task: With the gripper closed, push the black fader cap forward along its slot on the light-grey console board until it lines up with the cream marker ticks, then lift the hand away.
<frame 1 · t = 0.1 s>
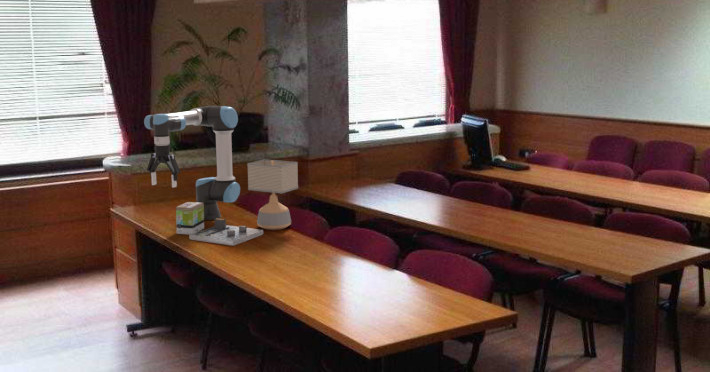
hand: (164, 186, 403), 28 cm above the table, fingers open, 13 cm apart
console: (226, 236, 412), on the table
desk lamp: (274, 227, 433), on the table
fader cap: (220, 223, 420), point 5 cm above the table, slide at 0.0 cm
tea box: (190, 231, 425), on the table
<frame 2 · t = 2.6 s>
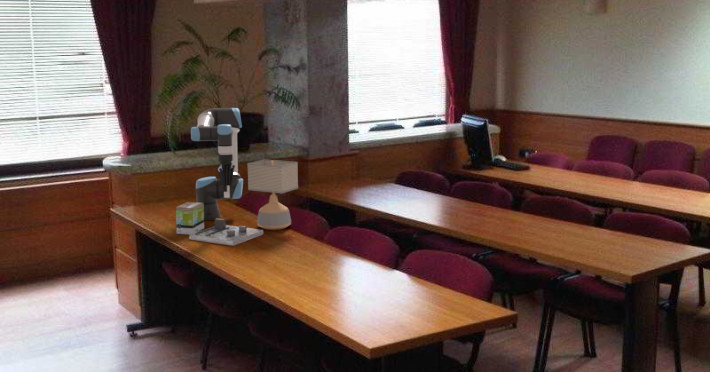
hand: (226, 197, 423), 18 cm above the table, fingers closed
nothing on the table moved.
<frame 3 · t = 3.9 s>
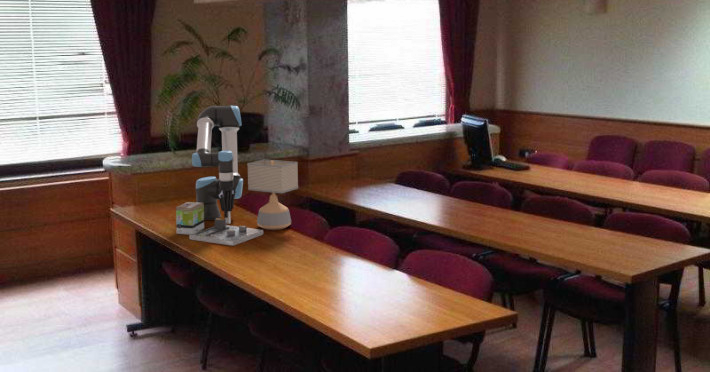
hand: (227, 223, 425), 4 cm above the table, fingers closed
nothing on the table moved.
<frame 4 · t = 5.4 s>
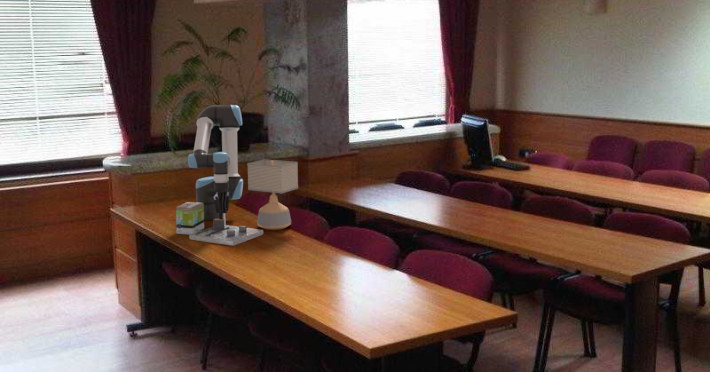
hand: (222, 225, 421), 4 cm above the table, fingers closed
fader cap: (218, 224, 418), point 5 cm above the table, slide at 1.2 cm, touching gripper
everything else where it was.
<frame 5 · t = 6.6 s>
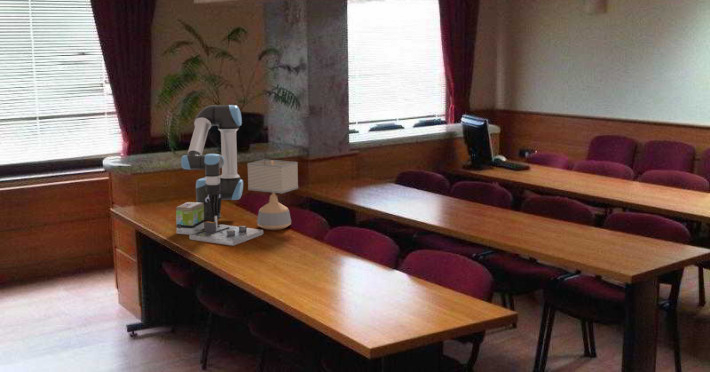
hand: (214, 227, 415), 4 cm above the table, fingers closed
fader cap: (210, 226, 412), point 5 cm above the table, slide at 8.2 cm, touching gripper
everything else where it was.
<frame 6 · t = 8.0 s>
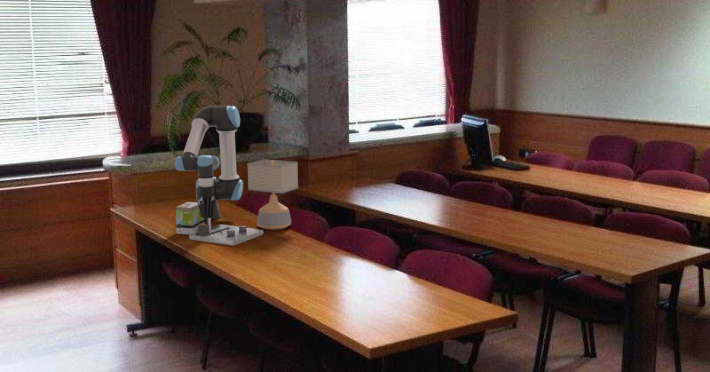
hand: (207, 230, 411), 4 cm above the table, fingers closed
fader cap: (203, 229, 408), point 5 cm above the table, slide at 13.7 cm, touching gripper
everything else where it was.
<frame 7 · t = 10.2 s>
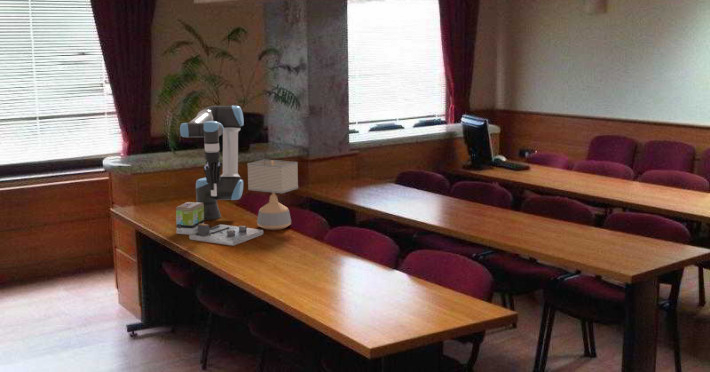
hand: (213, 195, 413), 21 cm above the table, fingers closed
fader cap: (203, 229, 408), point 5 cm above the table, slide at 13.8 cm
everything else where it was.
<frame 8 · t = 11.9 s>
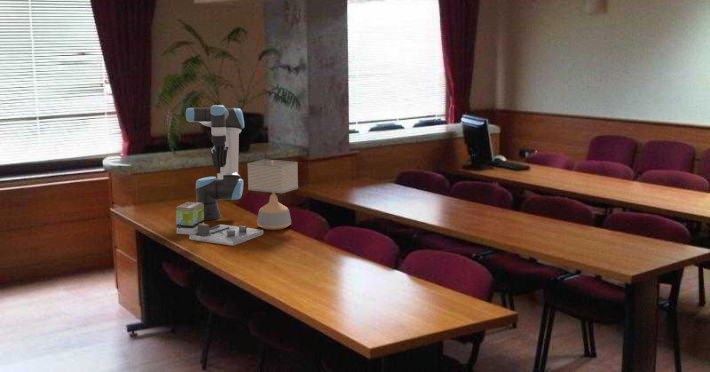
hand: (220, 179, 420), 28 cm above the table, fingers closed
nothing on the table moved.
at the end: fader cap slide at 13.8 cm; fader cap touching nothing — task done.
